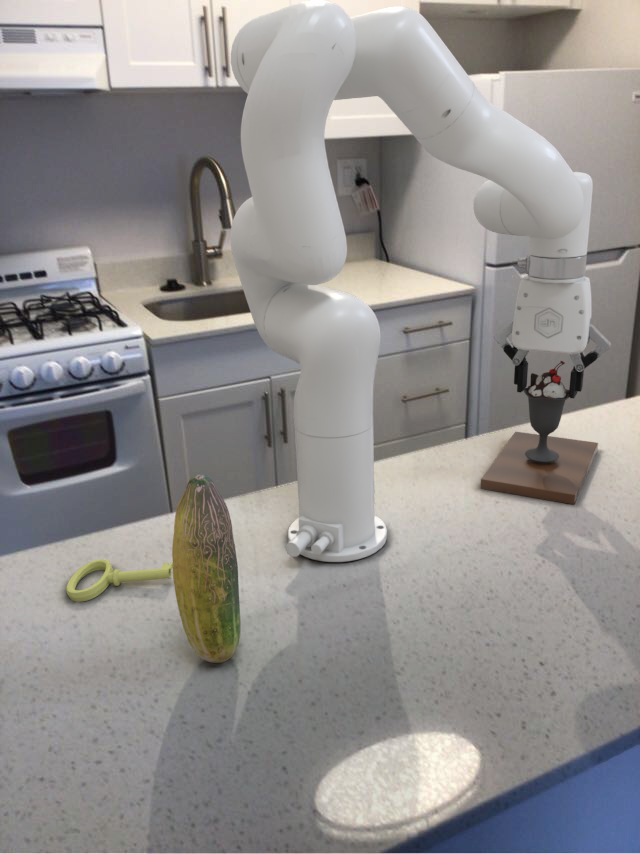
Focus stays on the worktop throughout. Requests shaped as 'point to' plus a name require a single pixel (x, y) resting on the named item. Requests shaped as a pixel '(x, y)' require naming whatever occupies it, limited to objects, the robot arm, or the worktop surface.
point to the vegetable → (206, 571)
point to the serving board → (541, 468)
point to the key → (111, 578)
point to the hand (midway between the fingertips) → (547, 391)
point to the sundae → (545, 411)
